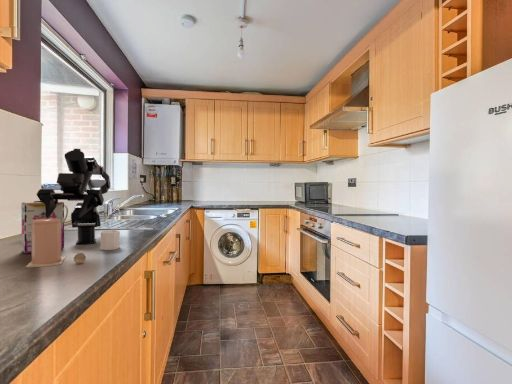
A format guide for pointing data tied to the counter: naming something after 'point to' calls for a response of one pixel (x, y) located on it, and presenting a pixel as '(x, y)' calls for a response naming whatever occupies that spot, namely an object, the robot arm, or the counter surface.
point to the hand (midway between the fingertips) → (62, 216)
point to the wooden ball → (79, 258)
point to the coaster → (45, 264)
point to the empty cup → (110, 239)
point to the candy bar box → (34, 213)
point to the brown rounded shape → (46, 241)
